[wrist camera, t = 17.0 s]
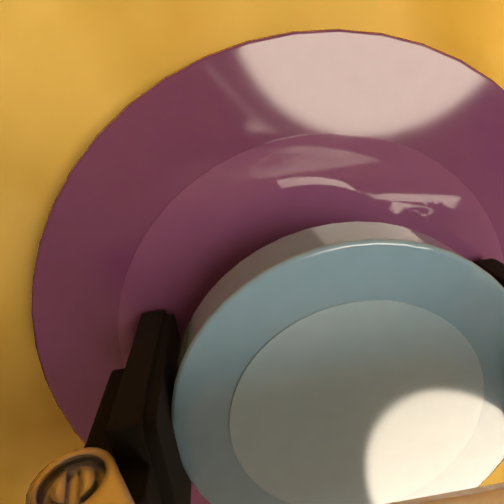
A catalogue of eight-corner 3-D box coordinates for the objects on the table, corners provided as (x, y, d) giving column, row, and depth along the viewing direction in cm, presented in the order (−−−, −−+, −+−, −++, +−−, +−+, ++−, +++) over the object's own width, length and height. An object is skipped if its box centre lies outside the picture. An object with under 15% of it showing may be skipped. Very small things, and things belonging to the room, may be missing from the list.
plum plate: (-45, 79, 9) (-69, 78, 8) (596, -6, 9) (630, -14, 9) (117, 537, 14) (112, 563, 13) (528, 463, 14) (545, 484, 14)
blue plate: (142, 250, 8) (129, 276, 7) (512, 194, 8) (561, 210, 7) (206, 521, 11) (205, 572, 9) (489, 472, 11) (521, 517, 10)
